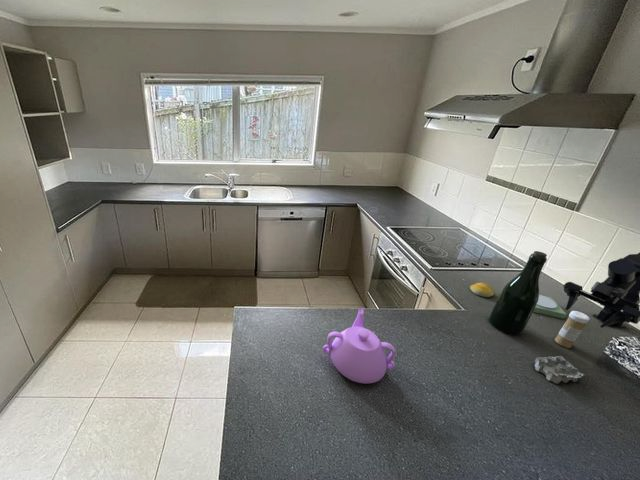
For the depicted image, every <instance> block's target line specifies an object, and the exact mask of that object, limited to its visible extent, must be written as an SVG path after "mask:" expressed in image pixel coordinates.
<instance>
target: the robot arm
mask: <svg viewBox="0 0 640 480" xmlns="http://www.w3.org/2000/svg"><path fill="white" fill-rule="evenodd" d="M607 276H608V277H606V278H605V279H604V281H602V282H600V281H596V282H595V283H594V284H593V286H591V288H590V292H588V291H585V290H583V285H579V284H578V283H575V282H573V281H567V282H565V283H564V284H563V293H565V294H566V296H567V297H568V300H567V303H566V306H565V311H569V310H570V309H571V308H572V307H573V305H574V304H575V303H576V302H577V301H578V299H579V297H580V296H581V297H584V298H585V299H588V300H590V301H593V302H595V303H597V304H599V305H600V306H603V308H602V309H601V310H600V311H599V313H598V314H593V317H594V318H596V319H597V320H599V321H600V322H602V323H601V325H600V326H599V327H600V328H601V329H602V328H606V327H613V328H620V329H621V328H622V329H626V328H627V326H626V325H624V323H626V324H630V323H632V324H635V325H638V324H639V323H640V252H638V253H630V254H628V255H626V256H624V257H620V258H618V259H615V260H613V261H610V262H609V263H608V264H607Z"/></svg>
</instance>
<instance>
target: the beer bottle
mask: <svg viewBox="0 0 640 480" xmlns="http://www.w3.org/2000/svg"><path fill="white" fill-rule="evenodd" d="M547 257H548V254H547V253H546V252H542V251H539V250H538V251H537V250H535V251H533V253H531V254H530V255H529V257H528V259H527V262H526V263H525V264H524V267H523V269H522V270H521V271H520V272H519V273H518V274H517V275H516V276H515V277H513V278H512V279H511V280H509V281H508V282H507V283H506V284H505V285H504V287H503V288H502V290H501V292H500V293H499V296H498V298H497V300H496V301H495V303H494V306H493V308H492V310H491V312H490V314H489V316H488V321H489V323H490V324H491V325H492V326H493V327H494V328H496V329H497V330H499V331H501V332H503V333H505V334H508V335H513V336H518V335H521V334H523V332H524V331H525V329H526V327H527V326H528V323H529V321H530V319H531V317H532V315H533V313H534V312H533V311H534V309H535V307H536V304H537V302H538V299H539V295H540V285H539V284H540V282H539V281H540V275H541V273H542V270H543V268H544V266H545V264H546V263H547V261H548V260H547Z"/></svg>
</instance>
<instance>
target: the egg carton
mask: <svg viewBox="0 0 640 480" xmlns="http://www.w3.org/2000/svg"><path fill="white" fill-rule="evenodd" d="M534 362H535V364H534V367H535V371H536V372H537V373H542V374H543V375H544V376H546V377H545V379H546V380H547V381H549V382H552V383H554V384H556V385H557V384H560V383H562V382H563V383H564V384H565V383H568V382H569V381H571V382H573V383H576V382H578V379H579V378H583V376H584V373H581V372H580V371H579V369H578V368H577V367H575V365H573V364H572V363H571V362H570V361H567V359H566V358H565V357H563V355H559V356H558V355H557V356H544V357H543V356H542V357H541V356H537V357H535V359H534Z"/></svg>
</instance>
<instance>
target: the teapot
mask: <svg viewBox="0 0 640 480" xmlns="http://www.w3.org/2000/svg"><path fill="white" fill-rule="evenodd" d="M364 316H365V310H364V307H363V306H359V308H358V311H357V315H356V318H355V320H354V322H353V323H352V326H350V327H347V328H346V329H344V330H342V331H341V332H339V331H331V332H329V333H328V335H327V337H326V338H327V344H324V345H323V347H322V351H323V353H325V354H326V355H330V356H329V357H330V360H331V362H332V365H333V366H334V367H335V369H336V370H337V371H338V372H339V373H340V374H341V375H342V376H344V377H345V378H347V379H348V380H350V381H352V382H355V383H358V384H375V383H377V382H379V381H380V380H382V379H383V378H384V376H385V375H386V372H387V370H390V371H391V370H394V369H395V368H396V364H395V361H393V360H394V358H395V357H396V354H397V353H396V352H397V351H396V348H395V346H394V345H392V344H391V343H390V342H386V341H384V342H383V341H381V340H380V339H379V337H378V336H377V334H375V333H374V332H373V331H372V330H370V329H368V328H366V327H365V324H364V323H365V322H364V321H365V320H364ZM332 338H334V339H333V341H332ZM385 349H388V350H389V351H391V352H390V354H389V355H388V356H387V355H386V351H385Z"/></svg>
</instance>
